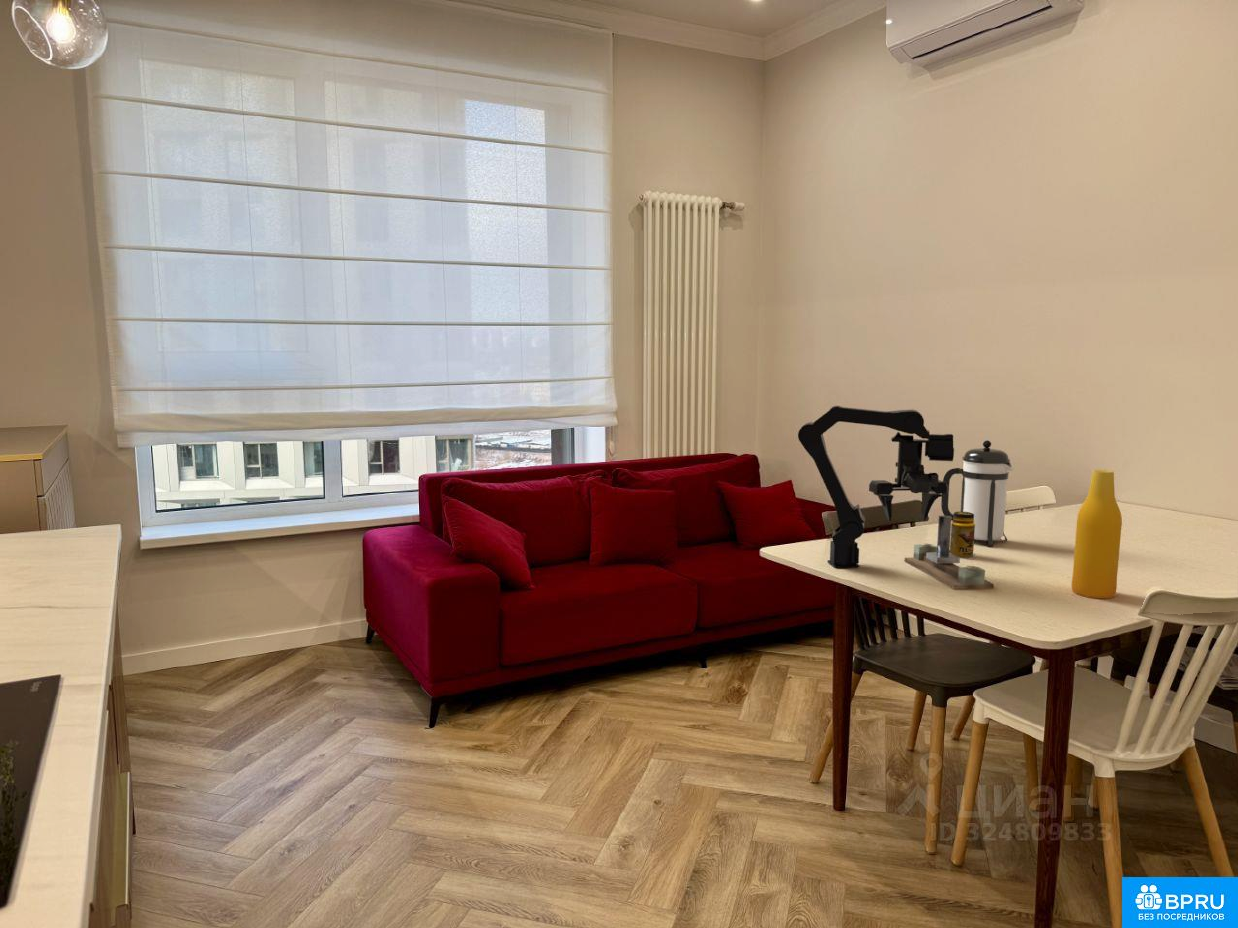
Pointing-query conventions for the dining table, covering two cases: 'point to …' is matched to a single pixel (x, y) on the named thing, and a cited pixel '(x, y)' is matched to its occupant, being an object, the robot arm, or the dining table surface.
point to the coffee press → (983, 491)
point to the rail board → (944, 575)
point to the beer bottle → (1097, 540)
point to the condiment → (962, 535)
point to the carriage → (943, 543)
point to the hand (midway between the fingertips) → (906, 520)
